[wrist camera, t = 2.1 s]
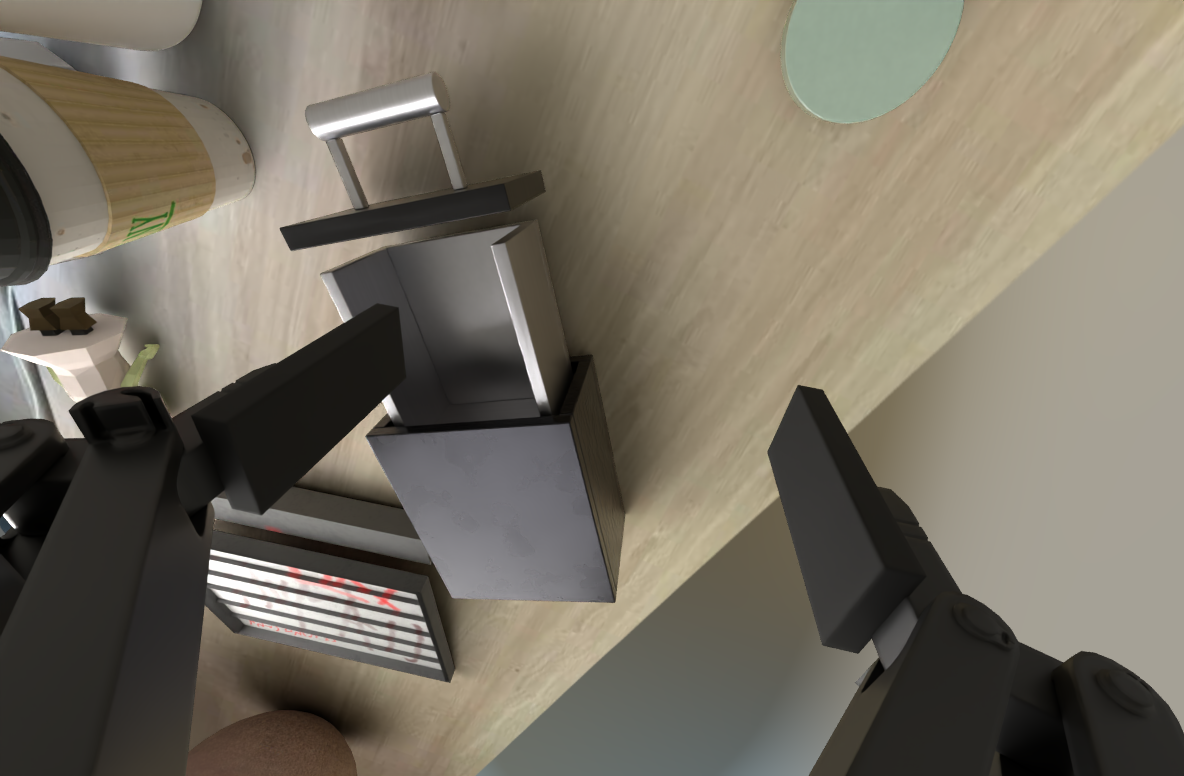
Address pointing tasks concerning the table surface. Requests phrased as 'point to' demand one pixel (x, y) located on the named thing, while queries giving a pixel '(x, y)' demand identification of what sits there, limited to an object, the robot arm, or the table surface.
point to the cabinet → (514, 499)
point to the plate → (863, 53)
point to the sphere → (274, 748)
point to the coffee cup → (104, 164)
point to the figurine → (77, 347)
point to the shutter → (329, 584)
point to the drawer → (445, 274)
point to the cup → (104, 21)
